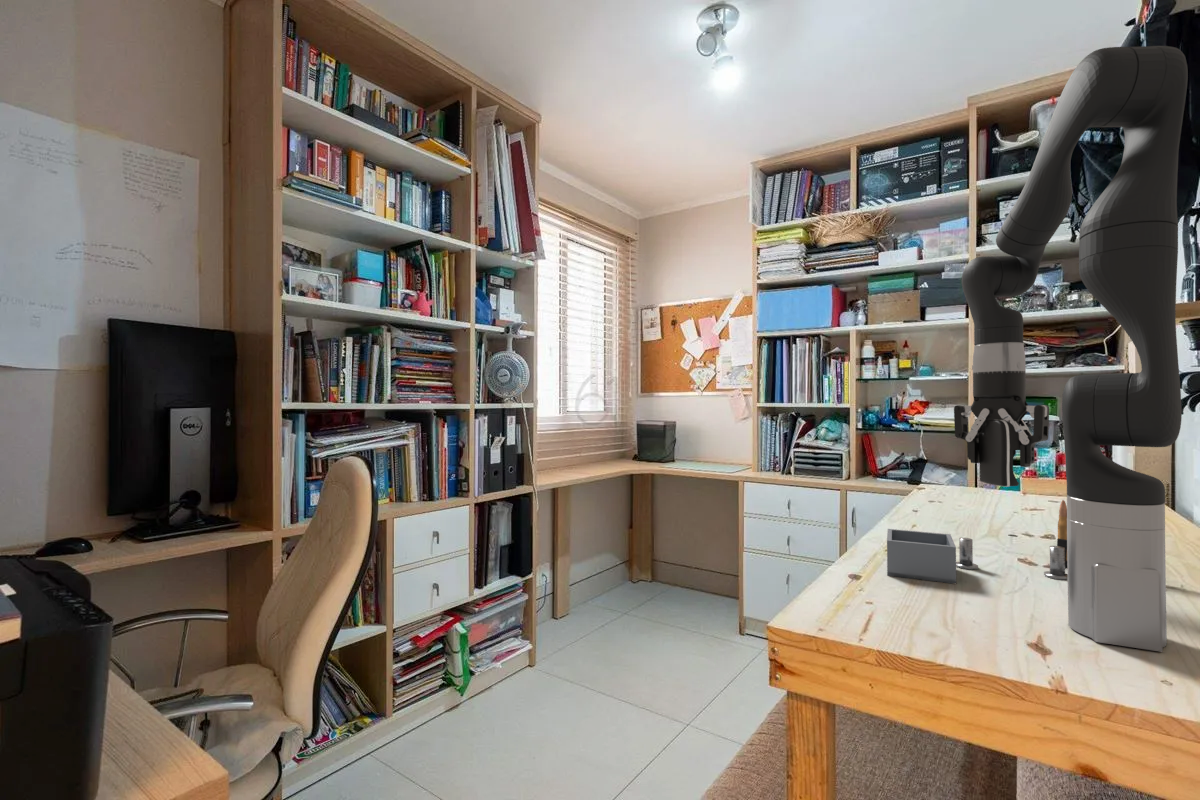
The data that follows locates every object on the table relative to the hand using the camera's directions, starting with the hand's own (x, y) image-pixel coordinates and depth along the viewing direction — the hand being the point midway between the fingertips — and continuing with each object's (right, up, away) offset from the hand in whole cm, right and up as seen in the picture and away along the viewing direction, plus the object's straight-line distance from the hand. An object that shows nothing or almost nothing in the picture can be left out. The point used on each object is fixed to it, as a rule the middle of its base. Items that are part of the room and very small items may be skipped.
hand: (999, 464), depth 97 cm
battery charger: (0, -4, 0) cm, 4 cm away
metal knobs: (+2, -19, 0) cm, 19 cm away
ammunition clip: (+16, -19, -1) cm, 25 cm away
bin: (-14, -19, 0) cm, 23 cm away
